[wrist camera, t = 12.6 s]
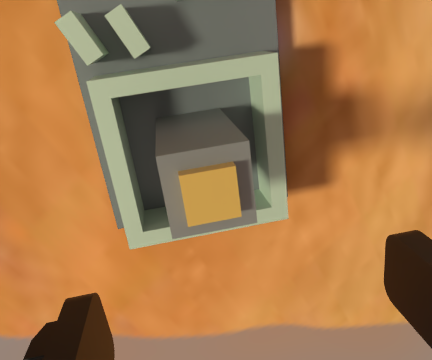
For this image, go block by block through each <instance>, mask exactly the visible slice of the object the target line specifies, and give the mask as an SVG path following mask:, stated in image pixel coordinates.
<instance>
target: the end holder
mask: <svg viewBox="0 0 432 360" xmlns="http://www.w3.org/2000/svg"><path fill="white" fill-rule="evenodd" d="M244 77H249V86H250V97H251V107H252V118H253V128H254V139H255V149H256V160H257V170H258V181H259V189H257V190H254V194H255V204H256V213H257V223H254V224H249V225H243V226H238V227H233V228H228V229H223V230H218V231H213V232H207V233H202V234H197V235H192V236H187V237H182V238H177V239H172V235H171V230H170V225H169V220H168V215H167V210H166V207H160V208H155V209H149V210H144V206H143V202H142V198H141V193H140V189H139V185H138V180H137V176H136V172H135V167H134V163H133V159H132V154H131V150H130V146H129V141H128V137H127V133H126V128H125V124H124V120H123V115H122V111H121V107H120V103H119V98H118V97H122V96H128V95H135V94H141V93H148V92H154V91H161V90H167V89H173V88H180V87H186V86H193V85H199V84H205V83H212V82H218V81H225V80H231V79H238V78H244ZM86 83H87V86H88V90H89V94H90V98H91V102H92V106H93V110H94V113H95V117H96V121H97V125H98V129H99V133H100V136H101V140H102V144H103V148H104V152H105V156H106V160H107V163H108V167H109V171H110V175H111V179H112V183H113V186H114V190H115V194H116V198H117V202H118V206H119V210H120V213H121V217H122V221H123V225H124V229H125V233H126V236H127V240H128V244H129V248H130V249H135V248H140V247H145V246H150V245H155V244H161V243H166V242H171V241H176V240H181V239H186V238H191V237H197V236H202V235H207V234H212V233H217V232H222V231H227V230H232V229H238V228H243V227H248V226H253V225H258V224H263V223H268V222H273V221H279V220H284V219H288V205H287V189H286V174H285V158H284V142H283V127H282V111H281V95H280V80H279V64H278V53H277V52H268V51H259V52H252V53H245V54H239V55H232V56H225V57H219V58H212V59H205V60H199V61H192V62H185V63H179V64H172V65H165V66H159V67H152V68H145V69H139V70H132V71H125V72H119V73H112V74H105V75H98V76H94V77H93V78H91V79H89V80H88V81H86Z"/></svg>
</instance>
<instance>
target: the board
mask: <svg viewBox="0 0 432 360" xmlns="http://www.w3.org/2000/svg"><path fill="white" fill-rule="evenodd" d="M57 2H58V6H59V10H60V14H61V18H60V19H58V20H57V21H56V22H54V23H55V24H56V25H57V27H58V28H59V29H60V31H61V32H62V33H63V35H64V36H65V37H66V39H67V40H68V44H69V47H70V51H71V55H72V58H73V62H74V66H75V70H76V73H77V77H78V81H79V85H80V88H81V92H82V96H83V100H84V103H85V107H86V111H87V115H88V118H89V122H90V126H91V129H92V133H93V137H94V141H95V144H96V148H97V152H98V156H99V159H100V163H101V167H102V171H103V174H104V178H105V182H106V185H107V189H108V193H109V197H110V200H111V204H112V208H113V212H114V215H115V219H116V223H117V227H118V229H120V228H124V225H123V221H122V217H121V213H120V210H119V206H118V202H117V198H116V194H115V190H114V186H113V183H112V179H111V175H110V171H109V167H108V163H107V160H106V156H105V152H104V148H103V144H102V140H101V136H100V133H99V129H98V125H97V121H96V117H95V113H94V110H93V106H92V102H91V98H90V94H89V90H88V86H87V83H86V81H88V80H89V79H91V78H93V77H94V76H98V75H105V74H112V73H119V72H125V71H132V70H139V69H145V68H152V67H159V66H165V65H172V64H179V63H185V62H192V61H199V60H205V59H212V58H219V57H225V56H232V55H239V54H245V53H252V52H259V51H268V52H277V53H278V64H279V50H278V34H277V18H276V3H275V0H57ZM279 80H280V66H279ZM280 95H281V82H280ZM118 98H119V103H120V107H121V111H122V115H123V120H124V124H125V128H126V133H127V137H128V141H129V146H130V150H131V154H132V159H133V163H134V167H135V172H136V176H137V180H138V185H139V189H140V193H141V198H142V202H143V206H144V210H149V209H155V208H160V207H166V206H165V201H164V196H163V191H162V186H161V181H160V176H159V172H158V167H157V162H156V157H155V149H156V118H161V117H167V116H173V115H179V114H185V113H191V112H197V111H204V110H210V109H216V108H220V109H221V111H222V112H223V113H224V114H225V115H226V116H227V117H228V118H229V119H230V120H231V121H232V122H233V124H234V125H235V126H236V127H237V128H238V129H239V130H240V131H241V132H242V133H243V134H244V136H245V137H246V138H247V139H248V140H249V144H250V154H251V164H252V174H253V184H254V190H257V189H259V181H258V170H257V160H256V149H255V139H254V128H253V118H252V107H251V97H250V86H249V77H244V78H238V79H231V80H225V81H218V82H212V83H205V84H199V85H193V86H186V87H180V88H173V89H167V90H161V91H154V92H148V93H141V94H135V95H128V96H122V97H118ZM281 111H282V98H281ZM282 127H283V113H282ZM283 142H284V129H283ZM284 158H285V145H284ZM285 174H286V161H285ZM286 189H287V177H286ZM287 197H288V193H287Z"/></svg>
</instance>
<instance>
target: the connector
mask: <svg viewBox="0 0 432 360" xmlns="http://www.w3.org/2000/svg"><path fill="white" fill-rule="evenodd" d="M155 157H156V162H157V167H158V172H159V176H160V181H161V186H162V191H163V196H164V201H165V206H166V210H167V215H168V220H169V225H170V230H171V235H172V239H177V238H182V237H187V236H192V235H197V234H202V233H207V232H213V231H218V230H223V229H228V228H233V227H238V226H243V225H249V224H254V223H257V213H256V204H255V194H254V184H253V174H252V164H251V154H250V144H249V140H248V139H247V138H246V137H245V136H244V134H243V133H242V132H241V131H240V130H239V129H238V128H237V127H236V126H235V125H234V124H233V122H232V121H231V120H230V119H229V118H228V117H227V116H226V115H225V114H224V113H223V112H222V111H221V109H220V108H216V109H210V110H204V111H197V112H191V113H185V114H179V115H173V116H167V117H161V118H156V149H155Z"/></svg>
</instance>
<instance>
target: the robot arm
mask: <svg viewBox="0 0 432 360" xmlns="http://www.w3.org/2000/svg"><path fill="white" fill-rule="evenodd" d="M384 286H385V290H386V293H387V295H388V297H389V299H390V301H391V302H392V303H393V305H394V306H395V307H396V308H397V309H398V310H399V312H400V313H401V314H402V315H403V316H404V317H405V318H406V320H407V321H408V322H409V323H410V324H411V325H412V326H413V327H414V329H415V330H416V331H417V332H418V333H419V335H420V336H421V337H422V338H423V339H424V340H425V341H426V343H427V344H428V345H429V346H430V347H431V348H432V240H431V239H430V238H429V237H427V236H426V235H425V234H423V233H422V232H420V231H418V230H413V231H408V232H403V233H398V234H393V235H389V236H388V237H387V239H386V247H385V268H384ZM23 360H114V344H113V338H112V334H111V331H110V328H109V325H108V322H107V318H106V315H105V312H104V309H103V306H102V303H101V300H100V297H99V295H98V294H97V293H92V294H87V295H82V296H77V297H72V298H67V299H66V300H65V302H64V304H63V307H62V309H61V312H60V315H59V317H58V320H57V321H54V322H49V323H46V324H45V326H44V327H43V328H42V329H41V330H40V331H39V332H38V334H37V335H36V336H35V337H34V338H33V339H32V340H31V343H30V345H29V347H28V350H27V352H26V355H25V357H24V359H23Z"/></svg>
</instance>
